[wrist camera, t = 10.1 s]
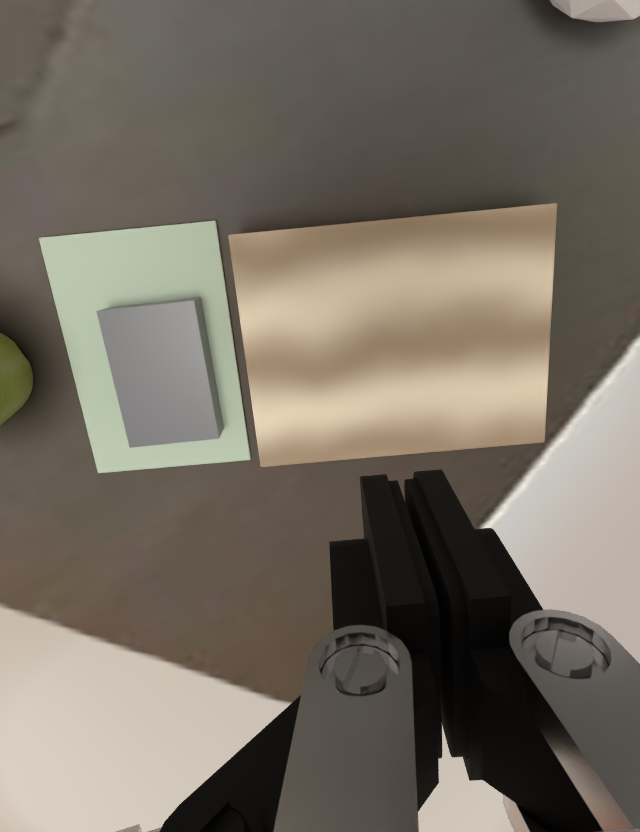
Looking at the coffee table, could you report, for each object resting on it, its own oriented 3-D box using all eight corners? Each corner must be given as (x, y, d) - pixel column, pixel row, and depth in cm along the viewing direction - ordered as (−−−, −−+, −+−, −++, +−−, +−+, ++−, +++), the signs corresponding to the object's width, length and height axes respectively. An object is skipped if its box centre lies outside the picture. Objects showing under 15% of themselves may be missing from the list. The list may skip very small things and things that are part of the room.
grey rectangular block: (193, 300, 31) (200, 297, 33) (96, 311, 31) (108, 307, 33) (219, 438, 34) (224, 428, 36) (129, 447, 34) (139, 436, 36)
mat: (41, 237, 32) (38, 237, 32) (216, 220, 32) (215, 220, 31) (99, 471, 37) (98, 472, 37) (250, 458, 37) (250, 459, 36)
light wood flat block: (238, 235, 32) (228, 235, 28) (528, 208, 32) (557, 203, 28) (266, 443, 36) (260, 466, 33) (520, 421, 36) (544, 442, 32)
